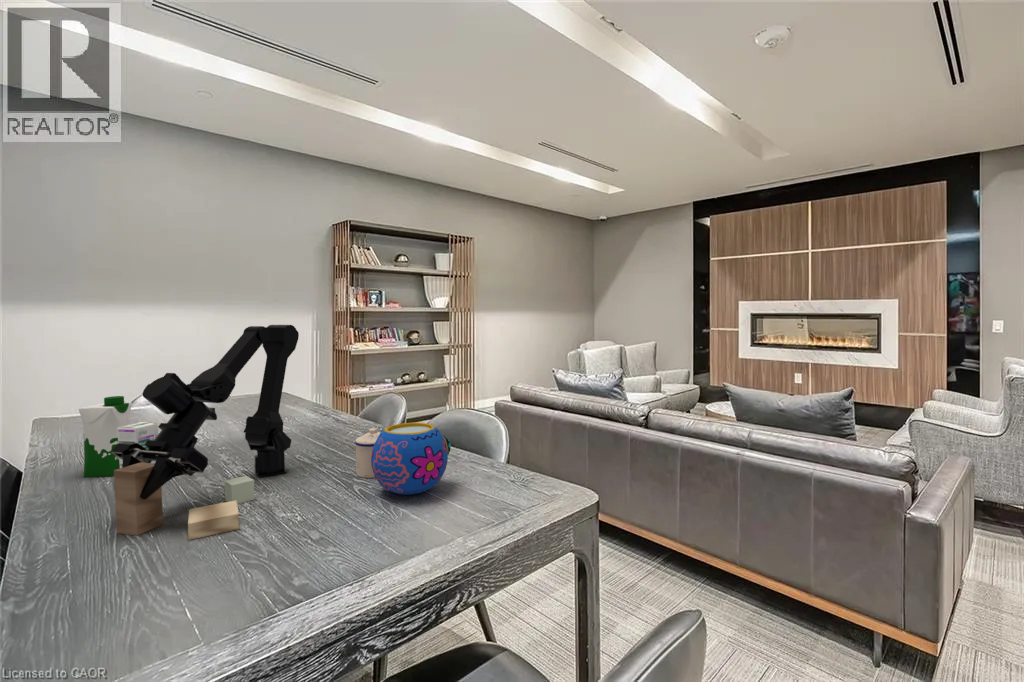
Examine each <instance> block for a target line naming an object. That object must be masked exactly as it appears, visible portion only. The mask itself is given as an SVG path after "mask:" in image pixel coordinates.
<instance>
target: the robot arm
mask: <svg viewBox="0 0 1024 682" xmlns="http://www.w3.org/2000/svg"><path fill="white" fill-rule="evenodd" d="M299 335H300V334H299V331H298V330H297V328H296V326H294V325H293V324H269V325H268V326H263V325H262V326H261V325H259V326H258V325H256V326H255V325H252V326H251V325H250V326H247V327H245V329H243V332H242V335H240V337H239V338H238V339H237V340H236V341H235V343H234V344H233V345H232V346H231V347H230V348H229V349H228V350H227V352H226V353H224V355H223V356H222V358H221V359H220V360H219V361H218V362H217V363H216V364H215V365H213V366H212V367H210V368H208V369H205V370H204V371H201V373H200V374H198V376H196V377H195V378H193V379H192V380H191V382H190V383H185V382H184V381H182V379H181V378H180V376H179V375H178V374H176V373H174V372H166V373H165V374H164V376H162V377H158V378H157V379H154V380H153V381H151V383H147V385H146V386H145V388H144V389H143V391H142V397H143V398H144V399H146V401H148V402H149V403H150V404H152V405H153V406H154V407H156V409H158V410H159V411H160V412H162V413H163V414H164V415H172V416H171V417H170V418H169V420H168V421H167V422H160V424H158V429H159V430H160V431H159V432H158V435H157V437H156V438H155V439H154V441H151V440H148V441H147V442H146V443H145V445H146V446H147V447H148V448H149V449H148V450H147V449H145V448H144V447H142V446H141V445H139V444H138V443H131V442H122V443H118V444H117V445H116V446H115V448H114V449H113V450H112V451H111V453H112V454H114V455H116V456H117V457H119V458H120V459H122V460H123V465H122V468H123V467H127V466H130V465H134V464H137V463H140V462H142V463H151V461H156V462H155V464H154V466H153V469H152V471H151V473H150V475H149V477H148V479H147V481H146V483H145V485H144V488H143V490H142V493H141V495H140V498H142V499H147V498H148V497H149V496H150V495H152V494H153V493H154V492H155V491H157V490H158V489H159V488H160V487H161V488H162V487H163V486H164V485H165V484H167V483H168V482H169V481H170V480H172V479H174V478H176V477H179V476H182V475H187V476H190V477H192V476H193V475H195V474H196V473H200V474H202V473H204V471H206V468H207V467H208V465H209V459H208V457H207V456H206V455H205V454H203V453H201V451H200V450H198V449H196V444H197V443H198V439H199V438H198V437H196V434H197V433H198V431H199V430H200V429H201V427H202V426H203V424H204V422H205V421H206V420H208V421H216V420H218V415H217V413H216V407H209V406H208V405H207V404H211V403H212V404H221V403H224V402H226V401H227V400H228V399H229V397H230V395H231V394H232V392H233V390H234V389H235V386H236V378H237V376H238V375H239V373H241V371H242V370H243V369H244V367H245V365H247V363H248V362H249V361H250V360H251V359H252V357H253V356H254V355H255V353H257V351H258V350H259V349H260V347H261V346H262V347H263V349H264V352H265V355H266V362H265V366H264V371H263V378H262V381H261V382H262V383H261V388H260V395H259V400H258V406H257V410H256V411H255V412H254V414H253V415H252V416H249V415H248V416H247V417H246V420H245V421H246V422H245V428H244V430H243V433H245V434H244V439H245V440H246V442H247V444H248V447H249V450H250V451H256V455H254V457H253V458H254V459H253V461H254V462H253V463H254V473H255V474H256V475H257V478H263V477H268V476H275V475H279V474H280V475H281V474H285V473H287V470H286V468H285V467H286V466H285V465H286V463H285V461H286V459H285V452H286V451H288V449H290V448H291V444H292V439H291V438H290V436H288V435H287V434H286V433H285V432H284V421H283V419H282V416H281V414H280V407H281V406H280V405H281V400H282V394H283V387H284V382H285V376H286V369H287V364H288V360H289V358H290V356H291V355H292V354H293V353H294V351H295V350H296V348H297V344H298V341H299ZM206 403H207V404H206Z"/></svg>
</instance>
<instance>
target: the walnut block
mask: <svg viewBox="0 0 1024 682" xmlns="http://www.w3.org/2000/svg"><path fill="white" fill-rule="evenodd" d="M153 466H154V464H153V463H142V462H140V463H137V464H134V465H130V466H127V467H123V468H120V469H117V470H114V476H113V480H114V481H113V482H114V484H113V485H114V504H115V505H114V507H115V525H116V526H115V528H116V529H115V530H116V534H121V535H122V534H124V535H130V536H131V535H132V536H139V535H142V534H144V533H146V532H148V531H151V530H153V529H156V528H157V527H160V526H162V525H164V524H163V523H164V517H163V514H164V513H163V493H162V491H163V490H162V486H161V487H160V488H159V489H158V490H157V491H155V492H154V493H153V494H152V495H150V496H149V497H148V498H147V499H142V498H140V495H141V493H142V490H143V488H144V485H145V483H146V481H147V479H148V477H149V475H150V473H151V471H152V469H153Z"/></svg>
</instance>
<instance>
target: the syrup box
mask: <svg viewBox="0 0 1024 682" xmlns="http://www.w3.org/2000/svg"><path fill="white" fill-rule="evenodd" d="M158 426H159V424H158V422H153V421H143V422H141V421H139V422H137V423H132V424H129V425H127V426H123V427H118V428H117V431H118V443H122V442H131V443H138V444H139V445H141V446H142V447H144V448H145V449H147V450H148V449H149V448H148V447H147V446H146V445H145V443H146V442H147V441H148V440H151V441H154V439H155V438H156V437H157V435H158V434H159V427H158ZM155 462H156V461H151V463H153V464H155ZM119 463H120V468H122V465H123V460H122V459H120V458H119Z"/></svg>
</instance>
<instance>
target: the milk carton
mask: <svg viewBox="0 0 1024 682" xmlns="http://www.w3.org/2000/svg"><path fill="white" fill-rule="evenodd" d="M131 410H132V402H125V396H124V395H116V396H106V397H104V398H103V402H102V403H96V404H93V405H87V406H83V407H80V408H79V407H78V413H79V415H80V419H81V421H82V428H83V429H82V430H83V431H82V433H83V451H84V452H83V453H84V459H83V478H94V477H95V478H97V477H98V478H99V477H102V478H103V477H114V470H117V469H120V463H119V457H117V456H116V455H114V454H112V453H111V451H112V450H113V449H114V448H115V446H116V445H117V444H118V431H117V428H118V427H123V426H127V425H130V415H131Z"/></svg>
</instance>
